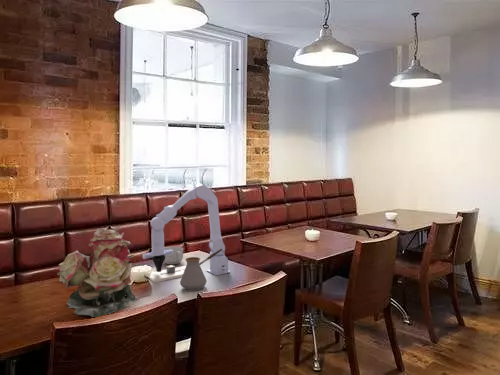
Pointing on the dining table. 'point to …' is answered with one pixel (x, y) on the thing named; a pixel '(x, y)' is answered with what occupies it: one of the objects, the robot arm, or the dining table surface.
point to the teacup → (174, 255)
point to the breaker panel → (167, 274)
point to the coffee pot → (194, 274)
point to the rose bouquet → (99, 275)
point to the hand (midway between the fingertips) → (158, 271)
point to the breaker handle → (170, 269)
